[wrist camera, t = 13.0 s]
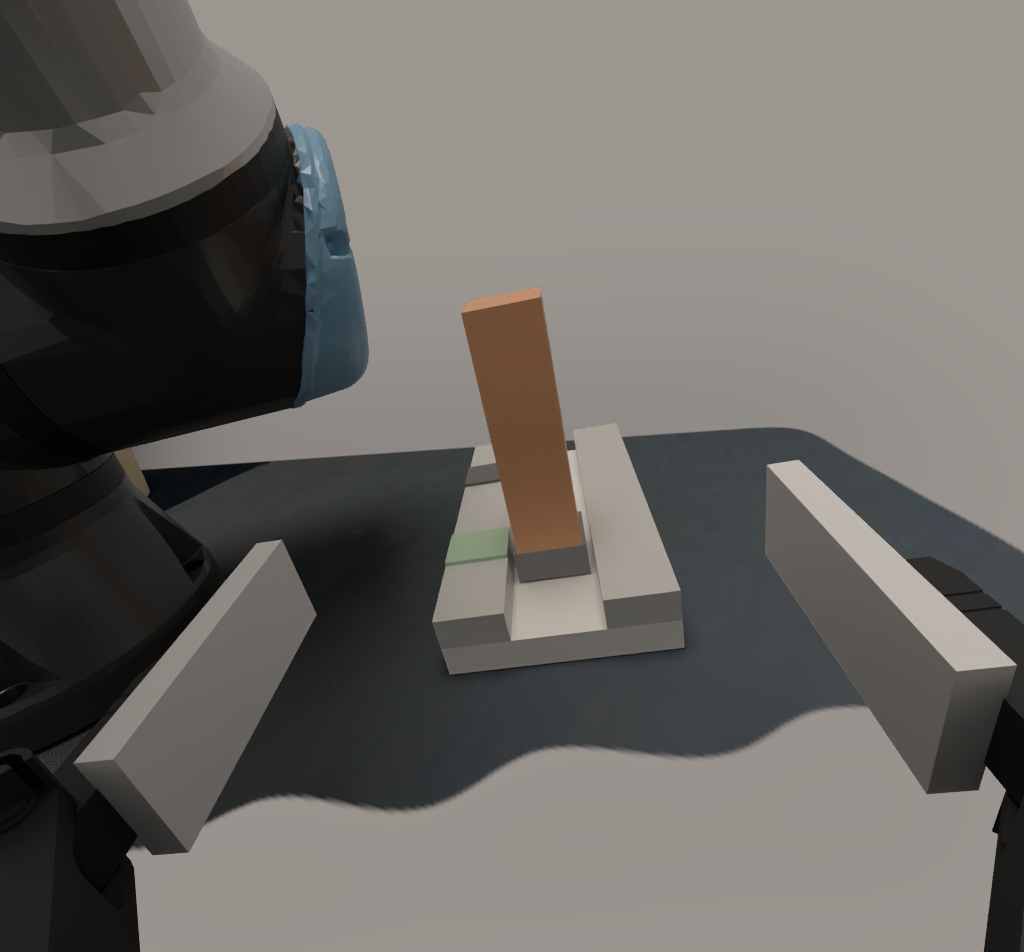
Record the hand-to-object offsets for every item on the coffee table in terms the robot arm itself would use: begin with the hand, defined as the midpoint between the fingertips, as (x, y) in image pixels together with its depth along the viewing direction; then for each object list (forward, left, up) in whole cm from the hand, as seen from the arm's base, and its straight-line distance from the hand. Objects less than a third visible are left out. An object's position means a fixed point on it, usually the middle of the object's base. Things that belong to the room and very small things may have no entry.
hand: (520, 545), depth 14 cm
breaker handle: (-3, +9, -7) cm, 12 cm away
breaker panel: (-5, +13, -9) cm, 16 cm away
